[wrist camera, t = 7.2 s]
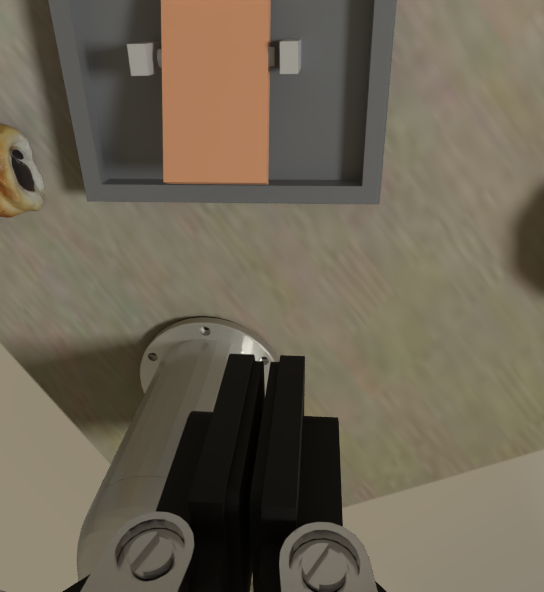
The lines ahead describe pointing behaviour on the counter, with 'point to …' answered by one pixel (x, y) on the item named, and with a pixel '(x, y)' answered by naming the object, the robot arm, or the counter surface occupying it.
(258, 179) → the rocker
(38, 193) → the pastry
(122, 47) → the breaker panel
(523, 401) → the counter surface
